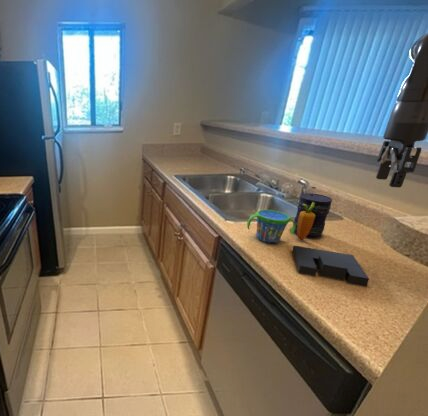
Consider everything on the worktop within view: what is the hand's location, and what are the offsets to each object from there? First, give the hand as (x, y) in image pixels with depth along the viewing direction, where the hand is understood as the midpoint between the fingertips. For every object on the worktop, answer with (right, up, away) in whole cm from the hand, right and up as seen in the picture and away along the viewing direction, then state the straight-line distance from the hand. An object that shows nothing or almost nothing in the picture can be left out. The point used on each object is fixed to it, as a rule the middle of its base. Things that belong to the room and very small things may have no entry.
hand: (387, 182), depth 74 cm
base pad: (-7, -26, +12) cm, 29 cm away
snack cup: (-15, -19, +30) cm, 38 cm away
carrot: (-3, -19, +29) cm, 34 cm away
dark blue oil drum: (+3, -17, +34) cm, 38 cm away
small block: (-9, -27, +9) cm, 29 cm away
